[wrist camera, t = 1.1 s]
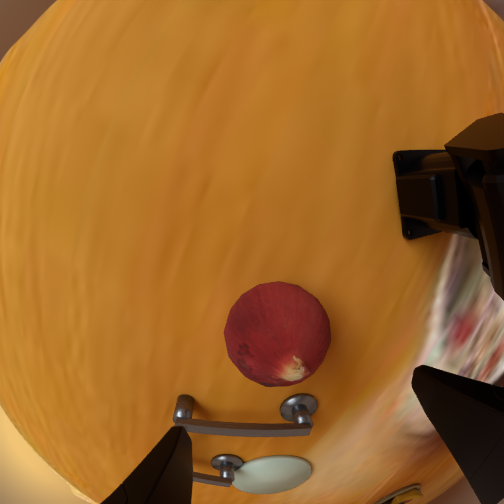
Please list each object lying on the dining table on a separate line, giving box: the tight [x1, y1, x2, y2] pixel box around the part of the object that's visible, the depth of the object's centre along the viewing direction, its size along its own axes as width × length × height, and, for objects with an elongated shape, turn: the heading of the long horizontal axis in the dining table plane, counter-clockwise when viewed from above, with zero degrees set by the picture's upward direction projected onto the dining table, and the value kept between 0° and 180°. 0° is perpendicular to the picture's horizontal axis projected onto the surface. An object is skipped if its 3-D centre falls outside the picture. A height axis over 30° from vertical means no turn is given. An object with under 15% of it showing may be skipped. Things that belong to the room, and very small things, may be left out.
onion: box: [224, 281, 331, 387], centre depth 14 cm, size 6×6×8 cm
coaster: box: [232, 455, 312, 494], centre depth 22 cm, size 9×9×1 cm
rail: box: [173, 393, 317, 487], centre depth 19 cm, size 15×12×3 cm
